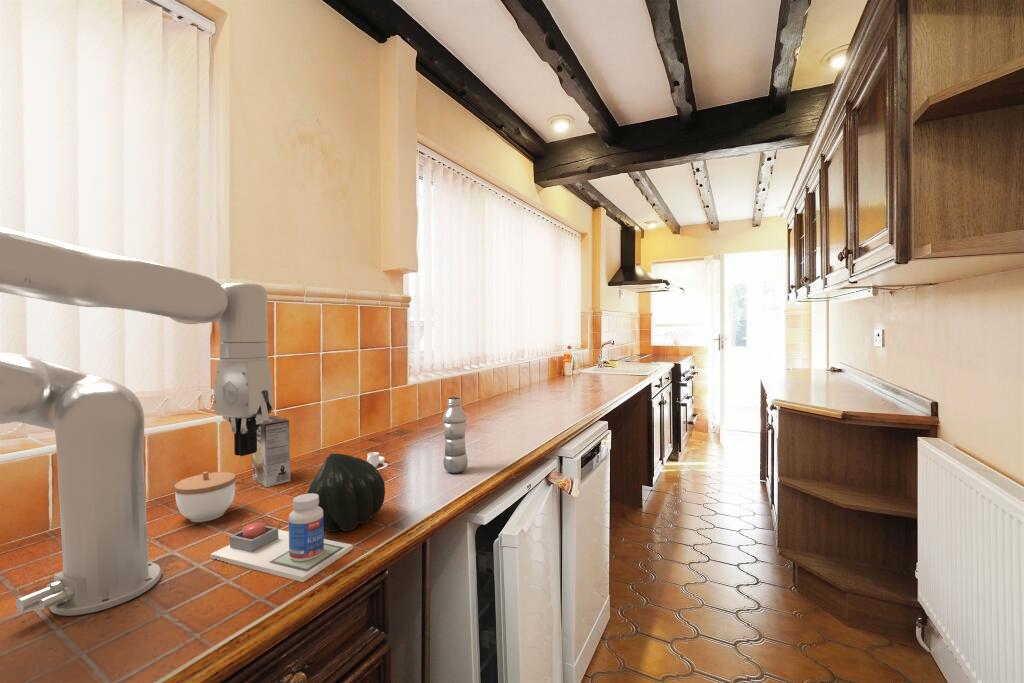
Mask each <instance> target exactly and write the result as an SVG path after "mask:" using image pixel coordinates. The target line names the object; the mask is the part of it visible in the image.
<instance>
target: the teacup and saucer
mask: <svg viewBox="0 0 1024 683" xmlns="http://www.w3.org/2000/svg"><path fill="white" fill-rule="evenodd" d="M366 456H367V458H366V461H367V462H369V463H370V464H372V465H373V466H374V467H375V468H376V469H377V470H378V471H379V470H382V469H385V468H386V467H388V465H389V464H388V463H387V462H385V461H386V458H385V456H380V452H378V451H377V452H376V451H372V452H368V453H367V455H366ZM379 465H383V466H381V467H379V468H377V467H378V466H379Z"/></svg>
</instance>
